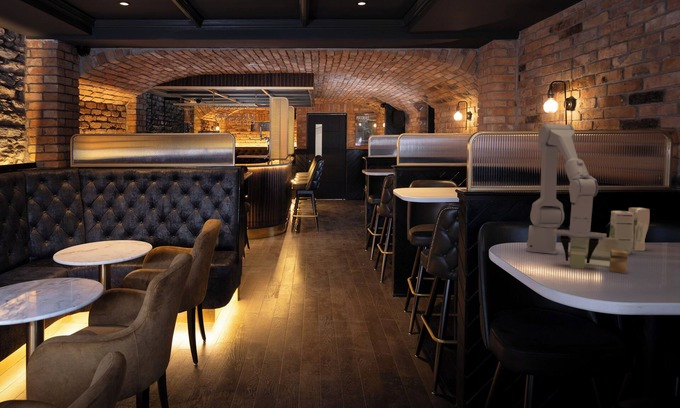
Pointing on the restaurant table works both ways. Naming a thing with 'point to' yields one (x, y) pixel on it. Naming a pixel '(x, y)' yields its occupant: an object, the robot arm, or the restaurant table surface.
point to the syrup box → (622, 229)
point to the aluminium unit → (601, 249)
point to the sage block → (577, 257)
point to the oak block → (618, 261)
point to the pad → (598, 263)
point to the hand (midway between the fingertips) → (577, 261)
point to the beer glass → (639, 227)
